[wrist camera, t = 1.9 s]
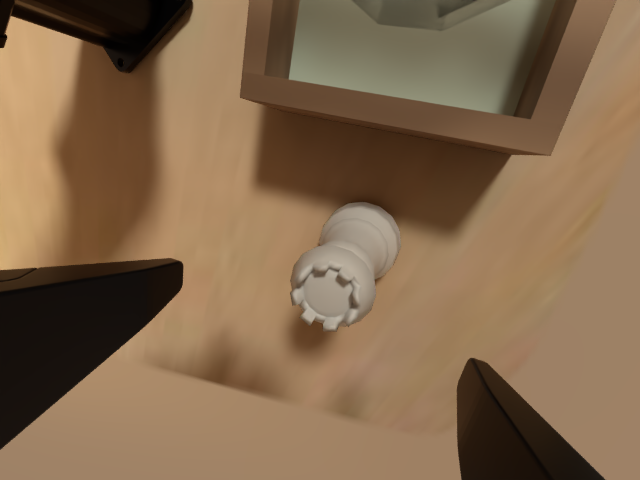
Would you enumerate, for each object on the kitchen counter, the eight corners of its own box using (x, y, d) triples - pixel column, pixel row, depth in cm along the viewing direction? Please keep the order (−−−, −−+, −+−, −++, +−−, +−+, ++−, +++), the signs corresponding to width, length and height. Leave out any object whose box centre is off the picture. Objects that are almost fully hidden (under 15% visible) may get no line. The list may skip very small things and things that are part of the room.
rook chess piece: (396, 279, 18) (383, 368, 11) (323, 268, 19) (265, 341, 12) (406, 203, 17) (399, 244, 9) (326, 196, 18) (264, 228, 10)
